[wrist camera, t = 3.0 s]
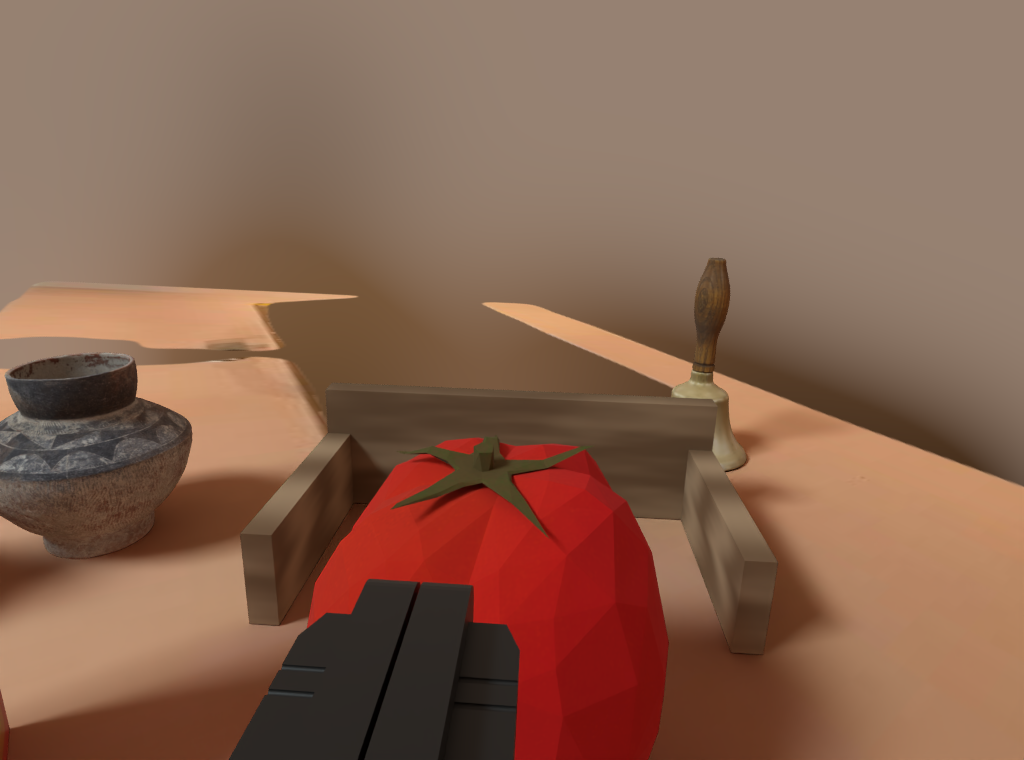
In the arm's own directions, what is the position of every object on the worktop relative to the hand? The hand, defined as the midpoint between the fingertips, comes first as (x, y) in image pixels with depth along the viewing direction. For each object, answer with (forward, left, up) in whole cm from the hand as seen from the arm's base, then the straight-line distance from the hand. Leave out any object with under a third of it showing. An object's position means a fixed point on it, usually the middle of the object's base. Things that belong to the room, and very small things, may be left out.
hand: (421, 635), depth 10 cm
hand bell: (-39, -24, -15) cm, 49 cm away
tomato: (-7, -8, -15) cm, 19 cm away
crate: (-17, -20, -15) cm, 30 cm away
